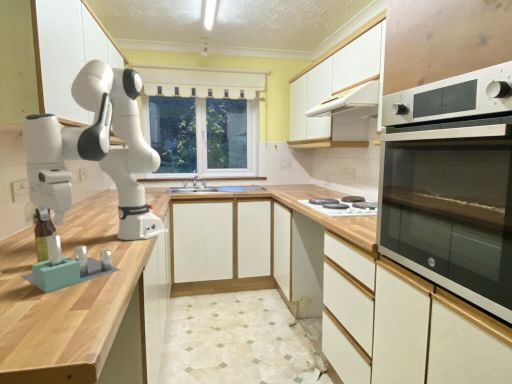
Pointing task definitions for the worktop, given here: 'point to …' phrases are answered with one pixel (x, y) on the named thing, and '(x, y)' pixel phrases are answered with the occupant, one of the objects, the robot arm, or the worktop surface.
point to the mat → (93, 272)
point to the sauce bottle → (43, 236)
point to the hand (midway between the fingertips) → (52, 222)
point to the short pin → (105, 260)
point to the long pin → (54, 250)
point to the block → (56, 274)
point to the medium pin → (81, 259)
